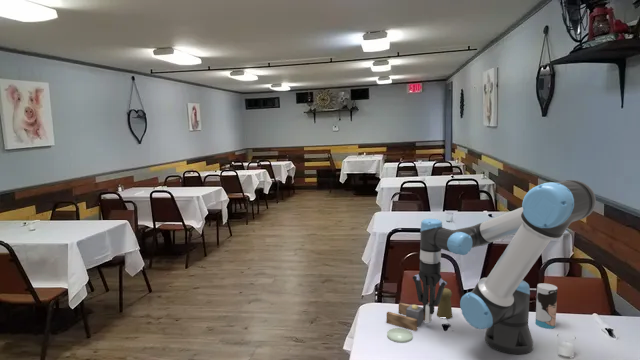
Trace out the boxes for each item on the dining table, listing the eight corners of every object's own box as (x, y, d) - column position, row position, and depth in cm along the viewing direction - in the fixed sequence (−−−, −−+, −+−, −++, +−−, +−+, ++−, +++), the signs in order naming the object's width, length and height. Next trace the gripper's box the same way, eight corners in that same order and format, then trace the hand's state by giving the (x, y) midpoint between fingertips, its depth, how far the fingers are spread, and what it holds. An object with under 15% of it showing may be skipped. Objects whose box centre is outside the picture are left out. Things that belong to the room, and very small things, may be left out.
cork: (453, 319, 166) (453, 292, 165) (437, 318, 168) (437, 291, 166) (451, 312, 172) (452, 286, 171) (436, 311, 174) (436, 285, 172)
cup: (549, 330, 156) (552, 291, 155) (531, 323, 162) (533, 285, 160) (558, 325, 160) (560, 287, 159) (540, 319, 166) (542, 282, 164)
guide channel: (428, 319, 167) (428, 309, 166) (415, 331, 157) (415, 320, 157) (400, 311, 174) (400, 302, 173) (386, 322, 164) (386, 312, 164)
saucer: (416, 334, 154) (416, 332, 154) (406, 345, 147) (406, 342, 147) (394, 328, 160) (394, 325, 159) (382, 337, 152) (382, 335, 152)
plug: (423, 322, 164) (423, 305, 163) (418, 327, 160) (418, 309, 159) (411, 319, 167) (411, 302, 166) (405, 324, 163) (406, 306, 162)
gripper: (451, 261, 157) (448, 322, 160) (417, 255, 164) (416, 313, 167) (443, 266, 151) (441, 329, 154) (409, 260, 158) (408, 320, 161)
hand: (428, 320), depth 160 cm, fingers closed
